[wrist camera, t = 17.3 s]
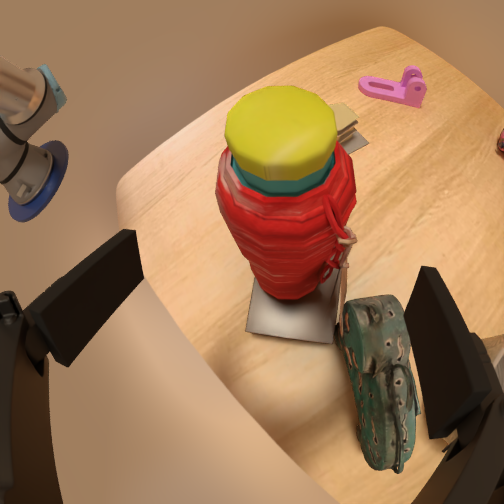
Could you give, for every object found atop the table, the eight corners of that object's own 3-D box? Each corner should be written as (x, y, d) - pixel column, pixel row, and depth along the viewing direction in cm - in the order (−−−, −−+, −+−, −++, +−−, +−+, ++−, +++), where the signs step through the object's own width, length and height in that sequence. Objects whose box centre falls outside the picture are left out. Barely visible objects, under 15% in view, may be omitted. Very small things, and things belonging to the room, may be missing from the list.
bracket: (414, 91, 47) (423, 68, 40) (419, 108, 45) (428, 84, 39) (357, 78, 49) (361, 53, 43) (359, 94, 48) (363, 68, 41)
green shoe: (321, 316, 37) (351, 292, 18) (366, 303, 37) (431, 268, 18) (348, 449, 31) (388, 525, 12) (391, 434, 30) (459, 493, 12)
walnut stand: (252, 332, 38) (245, 331, 32) (268, 234, 42) (264, 217, 36) (326, 343, 36) (332, 344, 30) (338, 242, 40) (345, 227, 34)
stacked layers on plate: (336, 111, 47) (339, 90, 42) (369, 143, 44) (375, 122, 39) (292, 132, 46) (291, 110, 41) (324, 167, 44) (327, 146, 38)
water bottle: (358, 291, 32) (487, 179, 8) (309, 340, 31) (367, 347, 7) (287, 221, 35) (272, 35, 12) (238, 265, 34) (137, 119, 11)
